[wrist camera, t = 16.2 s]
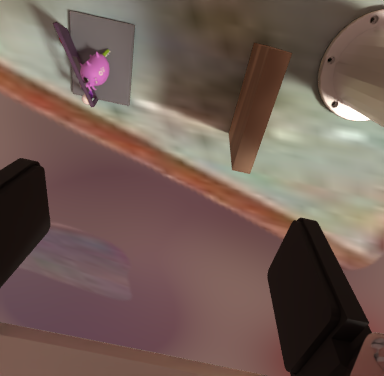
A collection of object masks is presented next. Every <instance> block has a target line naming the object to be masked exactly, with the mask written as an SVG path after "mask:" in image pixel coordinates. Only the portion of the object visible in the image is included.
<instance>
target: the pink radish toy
mask: <svg viewBox="0 0 384 376" xmlns="http://www.w3.org/2000/svg"><path fill="white" fill-rule="evenodd" d="M53 25H54V27H55V29H56V32H57V34H58V36H59V39H60V41H61V43H62V45H63V47H64V49H65V51H66V53H67V56H68V58H69V60H70V62H71V64H72V67H73V70H74V73H75V75H76V77H77V78H78V80H79V83H80V87H81V88H82V90H83V91H84V93H85V94H84V95H83V96H82V101H83V102H84V103H85V104H87V105H90V106H91V107H94V106H95V105H96V103H97V101H98V98H97V96H96V93H95V91H94V90H96V89H95V87H94V86H99V85H102V84H103V83H104V82H105V81H106V80H107V78H108V76H109V70H110V68H109V63H108V61H107V59H106V56H107V54H108V55H109V52H110V51H109V49H107V50H106V51H104V53H102V54H99V53H98V52H96V54H94V55H93V56H92V55H90V58H89V60H88V61H86V62H85V63H84V64H82V61H81V59H80V57H79V54H78V52H77V50H76V48H75V45H74V43H73V41H72V38H71V36H70V34H69V32H68V29H67V28H65V27H63V26H62V25H60V24H59V23H57V22H55V23H53ZM72 56H73V57H76V58H77V60H78V62H79V64H80V67H81V69H80V73H79V71H78V68H77V66H76V64H75V62H74V59H73V57H72ZM84 83H86V86H85V84H84ZM87 87H88V89H89V90H90V91H89V92H88V91H87ZM93 96H94V98H95V99H94V100H93V102H92V98H93Z"/></svg>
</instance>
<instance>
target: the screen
mask: <svg viewBox="0 0 384 376" xmlns="http://www.w3.org/2000/svg"><path fill="white" fill-rule="evenodd" d="M291 55H292V53H290V52H287V51H283V50H280V49H277V48H274V47H270V46H266V45H262V44H257V43H254V45H253V48H252V52H251V55H250V59H249V63H248V66H247V70H246V73H245V77H244V81H243V84H242V88H241V91H240V95H239V99H238V102H237V106H236V109H235V113H234V117H233V120H232V124H231V128H230V131H229V141H230V152H231V163H232V170H235V171H239V172H244V173H248V174H250V172H251V169H252V167H253V164H254V161H255V158H256V155H257V152H258V149H259V147H260V144H261V141H262V138H263V135H264V132H265V129H266V127H267V124H268V121H269V118H270V115H271V112H272V109H273V107H274V104H275V101H276V98H277V95H278V92H279V89H280V87H281V84H282V81H283V78H284V75H285V72H286V69H287V67H288V64H289V61H290V58H291Z"/></svg>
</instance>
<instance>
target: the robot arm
mask: <svg viewBox="0 0 384 376" xmlns="http://www.w3.org/2000/svg"><path fill="white" fill-rule="evenodd" d="M371 18H372V19H373V20H372V22H370V19H371ZM328 58H331V60H330V61H329V62H328V61H327V60H328ZM318 89H319V93H320V96H321V99H322V100H323V102H324V104H325V105H326V106H327V107H328V108H329V109H330V110H331V111H332V112H333V113H335V114H336V115H337V116H340V117H342V118H344V119H348V120H352V121H366V120H372V121H374V122H376V123H377V124H379V125H381V126H382V127H384V9H382V10H377V11H373V12H370V13H368V14H365V15H363V16H361V17H359V18H358V19H356V20H354V21H353V22H351V23H350V24H349V25H347V26H346V27H345V28H344V29H343V30H342V31H341V32H340V33H339V34H338V35H337V36H336V37H335V38H334V39H333V41H332V42H331V44H330V45H329V47H328V48H327V50H326V52H325V54H324V56H323V58H322V61H321V64H320V68H319V72H318ZM332 102H334V104H332ZM331 104H332V105H331ZM49 228H50V216H49V207H48V198H47V189H46V181H45V171H44V168H43V167H41V166H40V164H39V162H36V161H32V160H27V159H23V158H20V159H18V160H16V161H14V162H13V163H11V164H10V165H8V166H6V167H5V168H3V169H2V170H0V288H1V286H2V285H3V284H4V283H5V282H6V281H7V279H8V278H9V277H10V276H11V275H12V274H13V272H14V271H15V270H16V269H17V268H18V267H19V265H20V264H21V263H22V262H23V261H24V260H25V258H26V257H27V256H28V255H29V254H30V253H31V251H32V250H33V249H34V248H35V247H36V245H37V244H38V243H39V242H40V241H41V240H42V238H43V237H44V236H45V235H46V234H47V232H48V231H49ZM268 283H269V288H270V293H271V298H272V303H273V309H274V314H275V319H276V324H277V329H278V334H279V340H280V345H281V350H282V355H283V360H284V365H285V368H286V370H287V371H288V372H290V374H291V376H384V334H382V333H372V332H371V330H370V328H369V326H368V324H369V322H368V320H367V318H366V316H365V314H364V312H363V310H362V308H361V306H360V304H359V302H358V300H357V298H356V296H355V294H354V292H353V290H352V288H351V286H350V285H349V282H348V281H347V279H346V277H345V275H344V273H343V271H342V269H341V267H340V265H339V263H338V261H337V259H336V257H335V255H334V253H333V251H332V249H331V247H330V245H329V243H328V241H327V239H326V238H325V236H324V234H323V232H322V230H321V228H320V226H319V224H318V222H317V221H314V220H310V219H305V218H299V219H298V220H297V221H296V220H294V221H293V222H292V224H291V226H290V228H289V230H288V232H287V234H286V236H285V238H284V240H283V242H282V244H281V246H280V248H279V250H278V252H277V254H276V256H275V258H274V260H273V262H272V264H271V266H270V268H269V270H268ZM0 376H265V375H262V374H257V373H252V372H247V371H242V370H237V369H232V368H228V367H223V366H217V365H213V364H208V363H203V362H198V361H193V360H188V359H184V358H179V357H174V356H169V355H164V354H159V353H154V352H149V351H143V350H139V349H133V348H129V347H124V346H119V345H114V344H109V343H104V342H98V341H94V340H89V339H84V338H79V337H73V336H68V335H63V334H58V333H53V332H47V331H43V330H38V329H32V328H27V327H22V326H17V325H12V324H6V323H1V322H0Z"/></svg>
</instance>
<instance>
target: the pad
mask: <svg viewBox="0 0 384 376" xmlns="http://www.w3.org/2000/svg"><path fill="white" fill-rule="evenodd" d="M70 32H71V38H72V41H73V43H74V45H75V48H76V50H77V52H78V54H79V57H80V59H81V61H82V64H84V63H85V62H86V61H88V60H89V58H90V55H92V56H93V55H94V54H96V52H98V53H99V54H102V53H104V51H106V50H107V49H109V51H110V52H109V55H108V54H107V56H106V59H107V61H108V63H109V68H110V70H109V76H108V78H107V80H106V81H105V82H104V83H103V84H102V85H99V86H94V87H95V89H96V90H94V91H95V93H96V96H97V98H98V99H99V100H104V101H108V102H113V103H117V104H122V105H127V106H129V105H130V91H131V77H132V62H133V48H134V33H135V25H132V24H127V23H123V22H118V21H114V20H110V19H105V18H101V17H96V16H92V15H87V14H83V13H79V12H74V11H70ZM72 57H73V56H72ZM73 59H74V62H75V64H76V66H77V68H78V71H79V73H80V69H81V67H80V64H79V62H78V60H77V58H76V57H73ZM72 82H73V94H76V95H81V96H83V95H84V94H85V93H84V91H83V90H82V88H81V87H80V83H79V80H78V78H77V77H76V75H75V73H74V70H73V67H72ZM84 84H85V86H86V83H84ZM87 91H88V92H89V91H90V90H89V89H88V87H87ZM93 98H94V96H93Z"/></svg>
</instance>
